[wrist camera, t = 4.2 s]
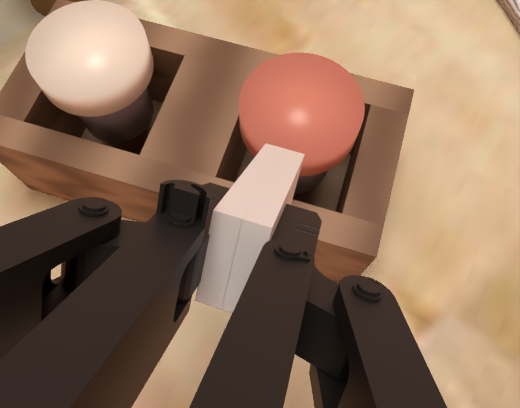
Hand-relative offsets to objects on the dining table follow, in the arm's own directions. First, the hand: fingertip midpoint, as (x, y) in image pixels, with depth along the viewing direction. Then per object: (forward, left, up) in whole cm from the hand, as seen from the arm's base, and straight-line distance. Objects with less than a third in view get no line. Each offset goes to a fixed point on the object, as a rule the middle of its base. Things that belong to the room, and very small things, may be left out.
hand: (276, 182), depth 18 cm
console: (-10, -3, -18) cm, 21 cm away
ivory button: (-13, -9, -13) cm, 20 cm away
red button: (-7, +3, -13) cm, 15 cm away
